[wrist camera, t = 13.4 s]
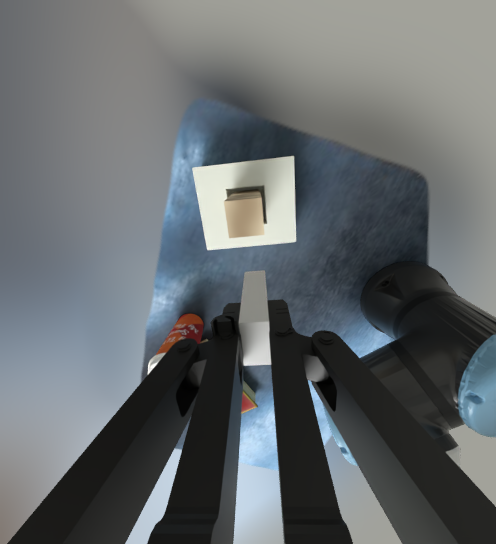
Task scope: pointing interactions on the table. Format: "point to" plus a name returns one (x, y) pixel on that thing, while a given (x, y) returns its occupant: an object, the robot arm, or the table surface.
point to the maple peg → (244, 214)
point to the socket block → (240, 177)
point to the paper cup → (179, 335)
